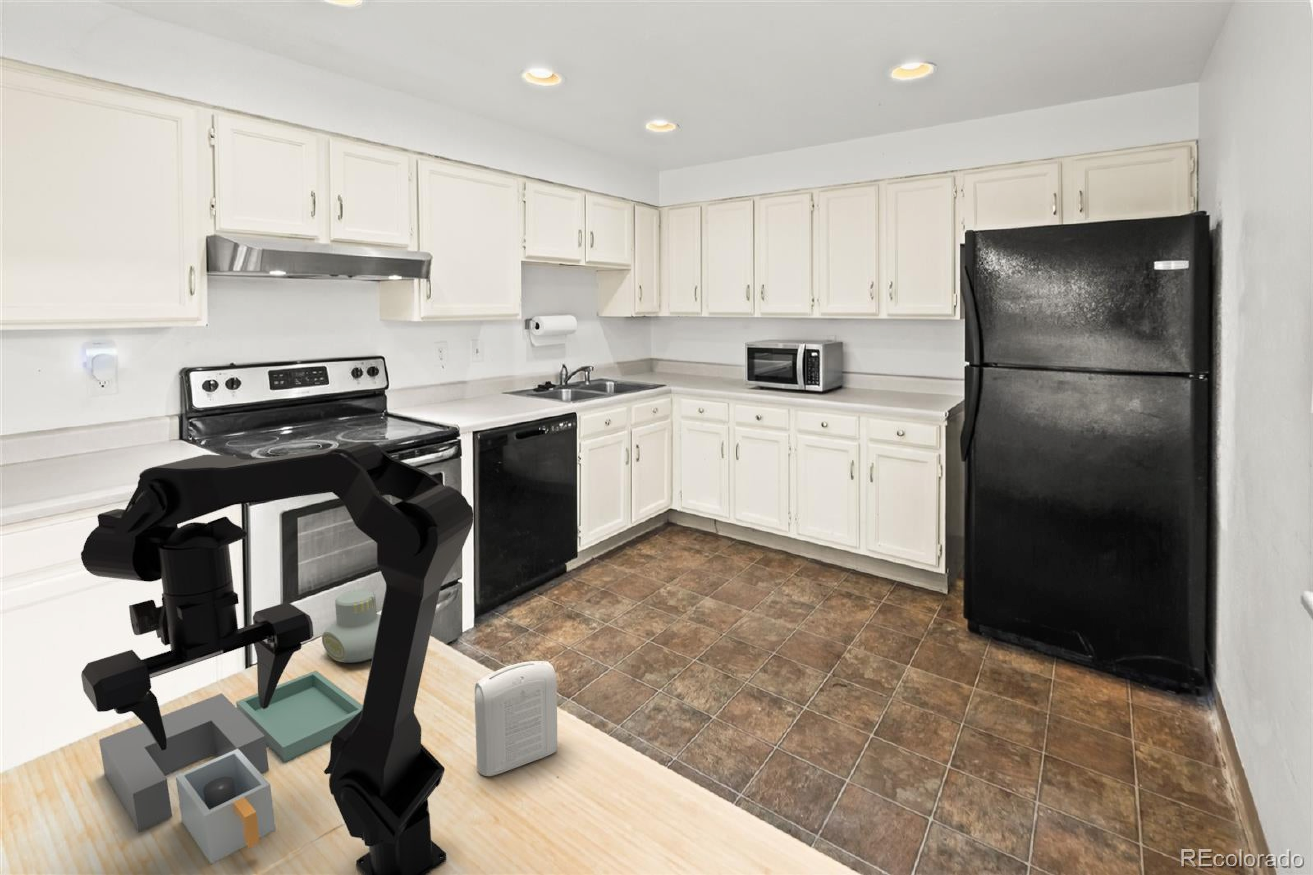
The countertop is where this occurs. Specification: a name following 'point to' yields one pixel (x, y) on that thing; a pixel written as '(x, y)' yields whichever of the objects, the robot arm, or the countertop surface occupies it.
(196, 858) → the countertop surface
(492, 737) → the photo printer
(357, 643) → the air freshener
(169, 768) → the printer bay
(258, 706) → the tray
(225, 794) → the dark grey rounded piece
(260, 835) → the toner caddy
